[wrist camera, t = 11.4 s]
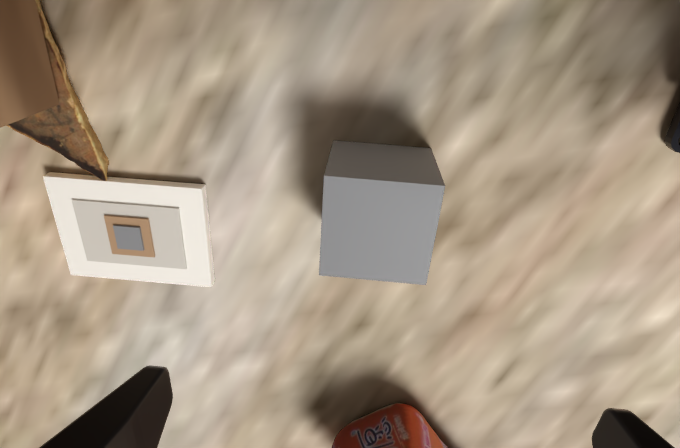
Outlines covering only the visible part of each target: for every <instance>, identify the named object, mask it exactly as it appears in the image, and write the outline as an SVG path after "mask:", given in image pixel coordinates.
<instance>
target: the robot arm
mask: <svg viewBox="0 0 680 448" xmlns="http://www.w3.org/2000/svg"><path fill="white" fill-rule="evenodd" d="M679 138H680V103H679V106H678V108H677V110H676V113H675V115H674V118H673V120H672V122H671V125H670V127H669V129H668V132H667V134H666V137H665V144H666V146H667V147H668V148H670V149H671V150H673V151H675V152H679V153H680V143H678V140H679ZM172 399H173V394H172V388H171V382H170V377H169V372H168V369H167V368H166V367H160V366H146V367H144V368H143V369H142V370H140V371H139V372H138V373H136V374H135V375H134V376H132V377H131V378H130V379H128V380H127V381H126V382H125V383H123V384H122V385H121V386H119V387H118V388H117V389H115V390H114V391H113V392H111V393H110V394H109V395H108V396H106V397H105V398H104V399H102V400H101V401H100V402H98V403H97V404H96V405H94V406H93V407H92V408H91V409H89V410H88V411H87V412H85V413H84V414H83V415H81V416H80V417H79V418H77V419H76V420H75V421H74V422H72V423H71V424H70V425H68V426H67V427H66V428H64V429H63V430H62V431H60V432H59V433H58V434H57V435H55V436H54V437H53V438H51V439H50V440H49V441H47V442H46V443H45V444H43V445H42V446H41V447H40V448H157V447H158V444H159V441H160V438H161V435H162V432H163V429H164V426H165V423H166V420H167V417H168V414H169V411H170V408H171V404H172ZM592 445H593V448H674V447H673V446H672V445H671V444H669V443H668V442H667V441H666V440H665V439H663V438H662V437H661V436H660V435H659V434H657V433H656V432H655V431H654V430H653V429H652V428H650V427H649V426H648V425H647V424H646V423H644V422H643V421H642V420H641V419H640V418H638V417H637V416H636V415H635V414H634V413H632V412H631V411H628V410H625V409H614V408H608V409H606V410H605V411H604V412H603V414H602V416H601V418H600V420H599V422H598V424H597V426H596V428H595V430H594V432H593V435H592Z"/></svg>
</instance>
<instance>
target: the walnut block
mask: <svg viewBox="0 0 680 448" xmlns="http://www.w3.org/2000/svg"><path fill="white" fill-rule="evenodd" d="M57 105H60V104H59V99H58V95H57V91H56V87H55V82H54V78H53V74H52V70H51V65H50V61H49V57H48V52H47V48H46V44H45V40H44V35H43V31H42V27H41V23H40V18H39V14H38V10H37V6H36V1H35V0H0V127H3V126H6V125H8V124H11V123H13V122H16V121H19V120H21V119H24V118H26V117H29V116H31V115H34V114H37V113H39V112H42V111H44V110H47V109H50V108H52V107H55V106H57Z"/></svg>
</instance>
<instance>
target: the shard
mask: <svg viewBox="0 0 680 448" xmlns="http://www.w3.org/2000/svg"><path fill="white" fill-rule="evenodd" d="M35 1H36V6H37V10H38V14H39V18H40V23H41V27H42V31H43V35H44V40H45V44H46V48H47V52H48V57H49V61H50V65H51V70H52V74H53V78H54V82H55V87H56V91H57V95H58V99H59V104H60V105H57V106H55V107H52V108H50V109H47V110H44V111H42V112H39V113H37V114H34V115H31V116H29V117H26V118H24V119H21V120H19V121H16V122H13V123H11V124H8V125H6V126H8V127H10V128H12V129H13V130H15V131H17V132H19V133H21V134H23V135H25V136H27V137H29V138H30V139H33V140H35V141H36V142H38V143H40V144H42V145H45V146H47V147H49V148H51V149H53V150H55V151H56V152H58V153H60V154H62V155H63V156H64V157H66V158H67V159H69V160H71V161H73V162H75V163H76V164H77V165H78V166H80V167H81V168H82V169H83V170H85V171H87V172H89V173H91V174H93V175H95V176H96V177H98V178H99V179H101V180H102V181H107V169H108V165H109V161H108V158H107V156H106V155H105V153H104V151H103V149H102V146H101V143H100V141H99V140H98V137H97V135H96V134H95V132H94V130H93V129H92V127H91V125H90V123H89V121H88V117H87V116H86V114H85V112H84V110H83V108H82V106H81V103H80V101H79V99H78V97H77V95H76V94H75V92H74V90H73V88H72V86H71V83H70V81H69V78H68V76H67V73H66V65H65V63H64V61H63V59H62V57H61V55H60V53H59V49H58V47H57V45H56V44H55V42H54V40H53V37H52V35H51V32H50V30H49V26H48V24H47V21H46V19H45V16H44V14H43V11H42V8H41V3H40V0H35Z"/></svg>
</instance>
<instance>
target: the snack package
mask: <svg viewBox="0 0 680 448" xmlns="http://www.w3.org/2000/svg"><path fill="white" fill-rule="evenodd" d="M332 448H447V446H446V445H445V444H444V443H443V442H442V441H441V440H440V438H439V437H438V436H437V434H436V433H435V432H434V431H433V429H432V428H431V427H430V425H429V424H428V423H427V421H426V420H425V418H424V417H423V416H422V414H421V413H420V412H419V411H418V410H417V409H415V408H414V407H412V406H410V405H407V404H403V403H395V404H392V405H389V406H386V407H383V408H381V409H379V410H376V411H374V412H372V413H370V414H368V415H366V416H364V417H361V418H359V419H357V420H354V421H352V422H351V423H349V424H348V425H347V426H345V427H344V428H343V429H342V430H341V431H340V432H339V433H338V435H337V436H336V438H335V440H334V443H333V445H332Z"/></svg>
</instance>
